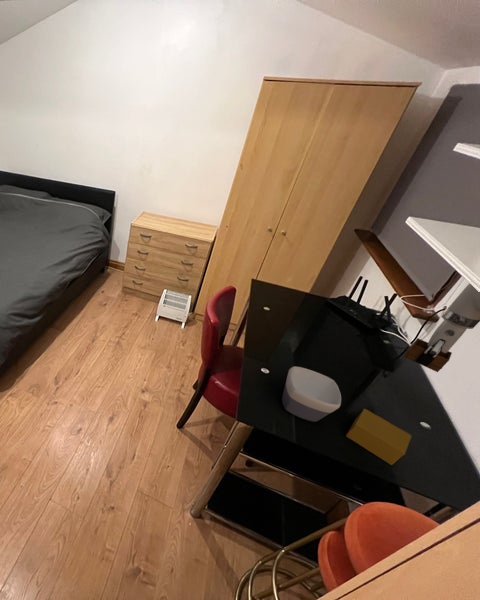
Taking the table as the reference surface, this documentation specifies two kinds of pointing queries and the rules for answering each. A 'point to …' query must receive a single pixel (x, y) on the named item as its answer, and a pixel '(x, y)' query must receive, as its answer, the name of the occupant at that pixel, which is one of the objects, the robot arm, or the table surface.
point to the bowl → (310, 394)
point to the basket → (421, 347)
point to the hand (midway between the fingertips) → (423, 359)
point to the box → (379, 437)
